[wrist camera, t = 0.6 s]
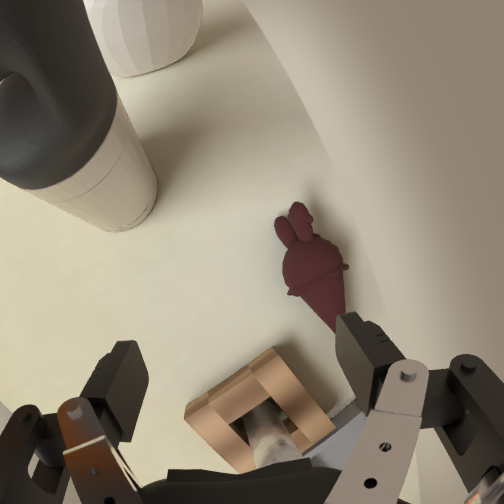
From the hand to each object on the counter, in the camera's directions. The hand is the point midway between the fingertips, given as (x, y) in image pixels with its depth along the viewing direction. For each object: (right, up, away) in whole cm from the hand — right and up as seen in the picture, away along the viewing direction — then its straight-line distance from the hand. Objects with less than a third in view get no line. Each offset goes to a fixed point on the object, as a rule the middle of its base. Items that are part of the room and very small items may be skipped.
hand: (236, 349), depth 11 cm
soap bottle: (-13, +29, +22) cm, 38 cm away
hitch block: (+1, -15, +20) cm, 25 cm away
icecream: (+7, +1, +23) cm, 24 cm away
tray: (+13, -23, +21) cm, 34 cm away
